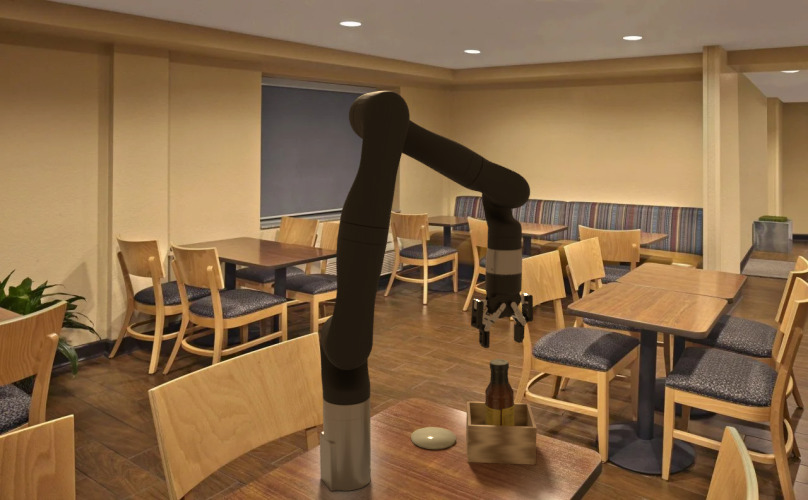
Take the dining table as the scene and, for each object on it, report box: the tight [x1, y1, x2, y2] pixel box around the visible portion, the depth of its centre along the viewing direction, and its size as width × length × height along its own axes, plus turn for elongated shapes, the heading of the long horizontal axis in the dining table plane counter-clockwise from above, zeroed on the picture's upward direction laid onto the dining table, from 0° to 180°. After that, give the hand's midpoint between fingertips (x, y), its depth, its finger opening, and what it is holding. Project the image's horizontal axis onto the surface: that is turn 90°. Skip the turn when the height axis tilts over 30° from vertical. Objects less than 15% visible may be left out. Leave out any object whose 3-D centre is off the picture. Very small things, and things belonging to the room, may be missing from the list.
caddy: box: [465, 400, 538, 465], centre depth 140 cm, size 14×13×8 cm
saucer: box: [410, 426, 457, 450], centre depth 146 cm, size 10×10×1 cm
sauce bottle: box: [484, 358, 515, 426], centre depth 140 cm, size 7×6×20 cm
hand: (501, 344), depth 137 cm, fingers open, 8 cm apart
